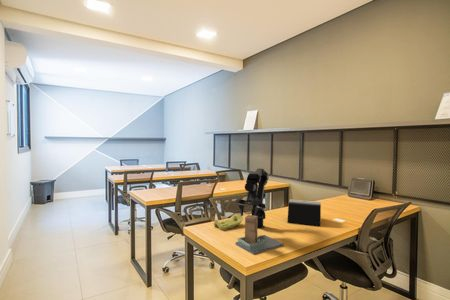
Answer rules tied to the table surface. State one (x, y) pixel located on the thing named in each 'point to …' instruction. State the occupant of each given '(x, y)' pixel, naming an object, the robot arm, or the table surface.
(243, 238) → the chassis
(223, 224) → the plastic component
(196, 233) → the table surface
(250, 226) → the tall wooden pillar
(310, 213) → the device stand
